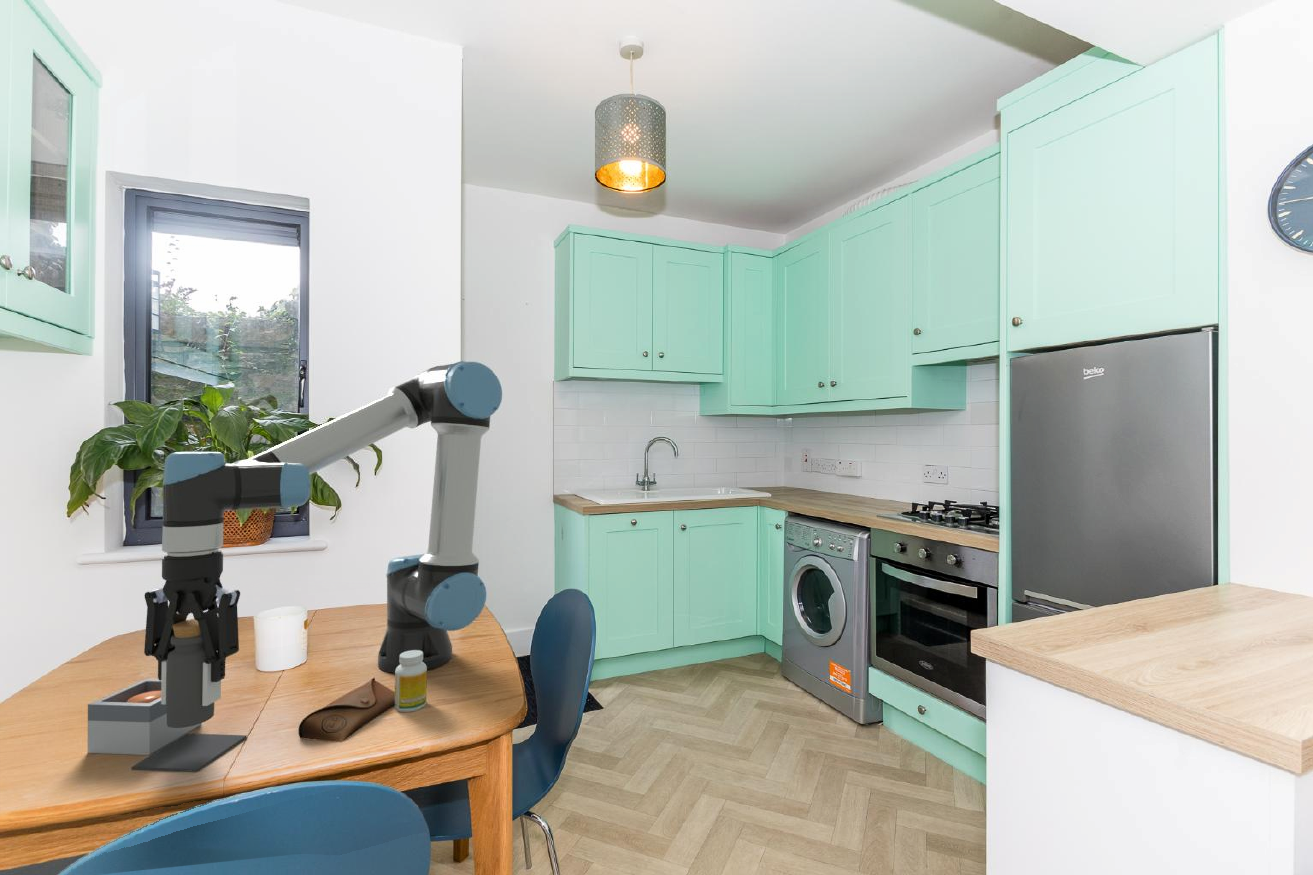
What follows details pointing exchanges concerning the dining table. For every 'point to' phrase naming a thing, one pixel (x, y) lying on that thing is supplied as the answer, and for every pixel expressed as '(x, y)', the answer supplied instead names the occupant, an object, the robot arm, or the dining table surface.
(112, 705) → the grey open box
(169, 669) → the bottle
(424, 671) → the supplement bottle
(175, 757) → the coaster
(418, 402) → the robot arm
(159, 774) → the dining table surface
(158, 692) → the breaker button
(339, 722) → the sunglasses case
